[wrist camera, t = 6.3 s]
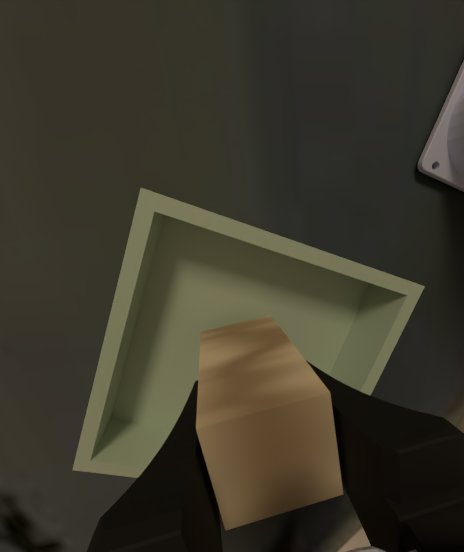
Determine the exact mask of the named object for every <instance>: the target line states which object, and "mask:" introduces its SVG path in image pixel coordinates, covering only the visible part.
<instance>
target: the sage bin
mask: <svg viewBox="0 0 464 552" xmlns="http://www.w3.org/2000/svg"><path fill="white" fill-rule="evenodd" d="M424 287H425V286H422V285H419V284H416V283H414V282H411V281H408V280H405V279H402V278H399V277H396V276H393V275H391V274H388V273H385V272H382V271H379V270H376V269H373V268H370V267H368V266H365V265H362V264H359V263H356V262H353V261H350V260H347V259H345V258H342V257H339V256H336V255H333V254H330V253H327V252H324V251H322V250H319V249H316V248H313V247H310V246H307V245H304V244H301V243H299V242H296V241H293V240H290V239H287V238H284V237H281V236H278V235H276V234H273V233H270V232H267V231H264V230H261V229H258V228H255V227H253V226H250V225H247V224H244V223H241V222H238V221H235V220H232V219H230V218H227V217H224V216H221V215H218V214H215V213H212V212H209V211H207V210H204V209H201V208H198V207H195V206H192V205H189V204H186V203H184V202H181V201H178V200H175V199H172V198H169V197H166V196H163V195H161V194H158V193H155V192H152V191H149V190H146V189H143V188H141V189H140V193H139V198H138V202H137V206H136V210H135V214H134V218H133V222H132V226H131V231H130V235H129V239H128V243H127V247H126V251H125V255H124V260H123V264H122V268H121V272H120V276H119V280H118V284H117V288H116V293H115V297H114V301H113V305H112V309H111V313H110V317H109V321H108V326H107V330H106V334H105V338H104V342H103V346H102V350H101V355H100V359H99V363H98V367H97V371H96V375H95V379H94V383H93V388H92V392H91V396H90V400H89V404H88V408H87V412H86V416H85V421H84V425H83V429H82V433H81V437H80V441H79V445H78V450H77V454H76V458H75V462H74V466H73V470H77V471H85V472H93V473H102V474H110V475H119V476H127V477H135V478H138V477H139V476H140V475H141V474H142V472H143V471H144V470H145V469H146V467H147V466H148V465H149V463H150V462H151V461H152V459H153V458H154V457H155V455H156V454H157V452H158V451H159V450H160V448H161V447H162V445H163V444H164V442H165V441H166V439H167V437H168V436H169V434H170V432H171V431H172V429H173V427H174V425H175V424H176V422H177V420H178V418H179V416H180V414H181V412H182V410H183V408H184V406H185V404H186V402H187V400H188V397H189V395H190V393H191V390H192V388H193V385H194V383H195V381H196V380H198V377H199V358H200V338H201V332H203V331H207V330H211V329H215V328H219V327H223V326H227V325H231V324H235V323H240V322H244V321H248V320H252V319H256V318H260V317H264V316H268V315H271V316H272V317H273V319H274V320H275V321H276V323H277V324H278V325H279V326H280V328H281V329H282V330H283V332H284V333H285V334H286V336H287V337H288V338H289V339H290V341H291V342H292V343H293V345H294V346H295V347H296V349H297V350H298V351H299V352H300V354H301V355H302V356H303V358H304V359H305V360H307V361H308V362H309V363H311V364H312V365H314V366H315V367H317V368H318V369H320V370H322V371H323V372H325V373H326V374H328V375H330V376H331V377H333V378H335V379H337V380H338V381H340V382H342V383H344V384H346V385H348V386H350V387H352V388H354V389H356V390H358V391H360V392H363V393H365V394H367V395H371V393H372V391H373V389H374V387H375V385H376V383H377V381H378V379H379V377H380V375H381V373H382V371H383V369H384V367H385V365H386V363H387V361H388V359H389V357H390V355H391V353H392V351H393V349H394V347H395V345H396V343H397V341H398V339H399V337H400V335H401V333H402V331H403V329H404V327H405V325H406V323H407V321H408V319H409V317H410V315H411V313H412V311H413V309H414V307H415V305H416V303H417V301H418V299H419V297H420V295H421V293H422V291H423V289H424Z"/></svg>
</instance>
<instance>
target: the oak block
mask: <svg viewBox="0 0 464 552" xmlns="http://www.w3.org/2000/svg"><path fill="white" fill-rule="evenodd" d="M196 431H197V435H198V438H199V442H200V445H201V448H202V452H203V455H204V459H205V462H206V465H207V469H208V472H209V476H210V479H211V483H212V486H213V489H214V493H215V496H216V500H217V503H218V506H219V510H220V513H221V517H222V520H223V524H224V527H225V530H229V529H232V528H235V527H239V526H242V525H245V524H249V523H252V522H255V521H258V520H262V519H265V518H268V517H271V516H275V515H278V514H281V513H284V512H288V511H291V510H294V509H297V508H301V507H304V506H307V505H310V504H314V503H317V502H320V501H323V500H327V499H330V498H333V497H336V496H340V495H343V487H342V480H341V472H340V464H339V456H338V449H337V441H336V433H335V425H334V417H333V410H332V402H331V394H330V391H329V390H328V389H327V387H326V386H325V385H324V383H323V382H322V381H321V380H320V378H319V377H318V376H317V374H316V373H315V372H314V371H313V369H312V368H311V367H310V365H309V364H308V363H307V361H306V360H305V359H304V358H303V356H302V355H301V354H300V352H299V351H298V350H297V349H296V347H295V346H294V345H293V343H292V342H291V341H290V339H289V338H288V337H287V336H286V334H285V333H284V332H283V330H282V329H281V328H280V326H279V325H278V324H277V323H276V321H275V320H274V319H273V317H272V316H271V315H268V316H264V317H260V318H256V319H252V320H248V321H244V322H240V323H235V324H231V325H227V326H223V327H219V328H215V329H211V330H207V331H203V332H201V338H200V358H199V377H198V396H197V415H196Z"/></svg>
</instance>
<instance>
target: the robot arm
mask: <svg viewBox="0 0 464 552" xmlns="http://www.w3.org/2000/svg"><path fill="white" fill-rule="evenodd" d="M432 164H433V169H432ZM418 170H419V171H420V172H422V173H424V174H426V175H428V176H430V177H433V178H435V179H437V180H439V181H441V182H443V183H445V184H448V185H450V186H452V187H454V188H456V189H458V190H461V191H463V192H464V60H463V63H462V65H461V67H460V69H459V72H458V74H457V76H456V78H455V81H454V83H453V85H452V87H451V90H450V92H449V94H448V96H447V98H446V101H445V103H444V105H443V107H442V110H441V112H440V114H439V116H438V119H437V121H436V123H435V125H434V128H433V130H432V132H431V134H430V137H429V139H428V141H427V143H426V145H425V148H424V150H423V152H422V154H421V157H420V159H419V161H418ZM306 361H307V360H306ZM307 363H308V364H309V365H310V367H311V368H312V369H313V371H314V372H315V373H316V374H317V376H318V377H319V378H320V380H321V381H322V382H323V383H324V385H325V386H326V387H327V389H328V390H329V391H330V394H331V402H332V410H333V417H334V425H335V433H336V441H337V449H338V456H339V464H340V472H341V480H342V483H343V485H344V487H345V489H346V491H347V494H348V496H349V498H350V500H351V502H352V504H353V507H354V509H355V511H356V513H357V515H358V518H359V520H360V522H361V524H362V526H363V529H364V531H365V533H366V535H367V537H368V540H369V542H370V544H371V546H369V547H362V548H356V549H354V550H350V551H347V552H464V433H462V432H461V431H460V430H459V429H458V428H456V427H455V426H454V425H452V424H451V423H450V422H449V421H447V420H446V419H444V418H443V417H439V416H435V415H430V414H426V413H422V412H418V411H414V410H411V409H407V408H404V407H401V406H397V405H394V404H391V403H388V402H385V401H383V400H380V399H378V398H375V397H372V396H370V395H367V394H365V393H363V392H360V391H358V390H356V389H354V388H352V387H350V386H348V385H346V384H344V383H342V382H340V381H338V380H337V379H335V378H333V377H331V376H330V375H328V374H326V373H325V372H323V371H322V370H320V369H318V368H317V367H315V366H314V365H312V364H311V363H309V362H308V361H307ZM197 396H198V380H196V381H195V383H194V385H193V388H192V390H191V393H190V395H189V397H188V400H187V402H186V404H185V406H184V408H183V410H182V412H181V414H180V416H179V418H178V420H177V422H176V424H175V425H174V427H173V429H172V431H171V432H170V434H169V436H168V437H167V439H166V441H165V442H164V444H163V445H162V447H161V448H160V450H159V451H158V452H157V454H156V455H155V457H154V458H153V459H152V461H151V462H150V463H149V465H148V466H147V467H146V469H145V470H144V471H143V472H142V474H141V475H140V476H139V477H138V478H137V480H136V481H135V482H134V483H133V484H132V485H131V486H130V488H129V489H128V490H127V491H126V492H125V493H124V494H123V495H122V496H121V497H120V498H119V499H118V500H117V502H116V503H115V504H114V505H113V506H112V507H111V508H110V509H109V510H108V511H107V512H106V513H105V514H104V515H103V516H102V517H101V518H100V520H99V523H98V525H97V527H96V530H95V532H94V534H93V537H92V539H91V542H90V544H89V547H88V550H87V552H222V541H221V529H220V517H219V506H218V503H217V500H216V496H215V493H214V489H213V486H212V483H211V479H210V476H209V472H208V469H207V465H206V462H205V459H204V455H203V452H202V448H201V445H200V442H199V438H198V435H197V431H196V415H197Z"/></svg>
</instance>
